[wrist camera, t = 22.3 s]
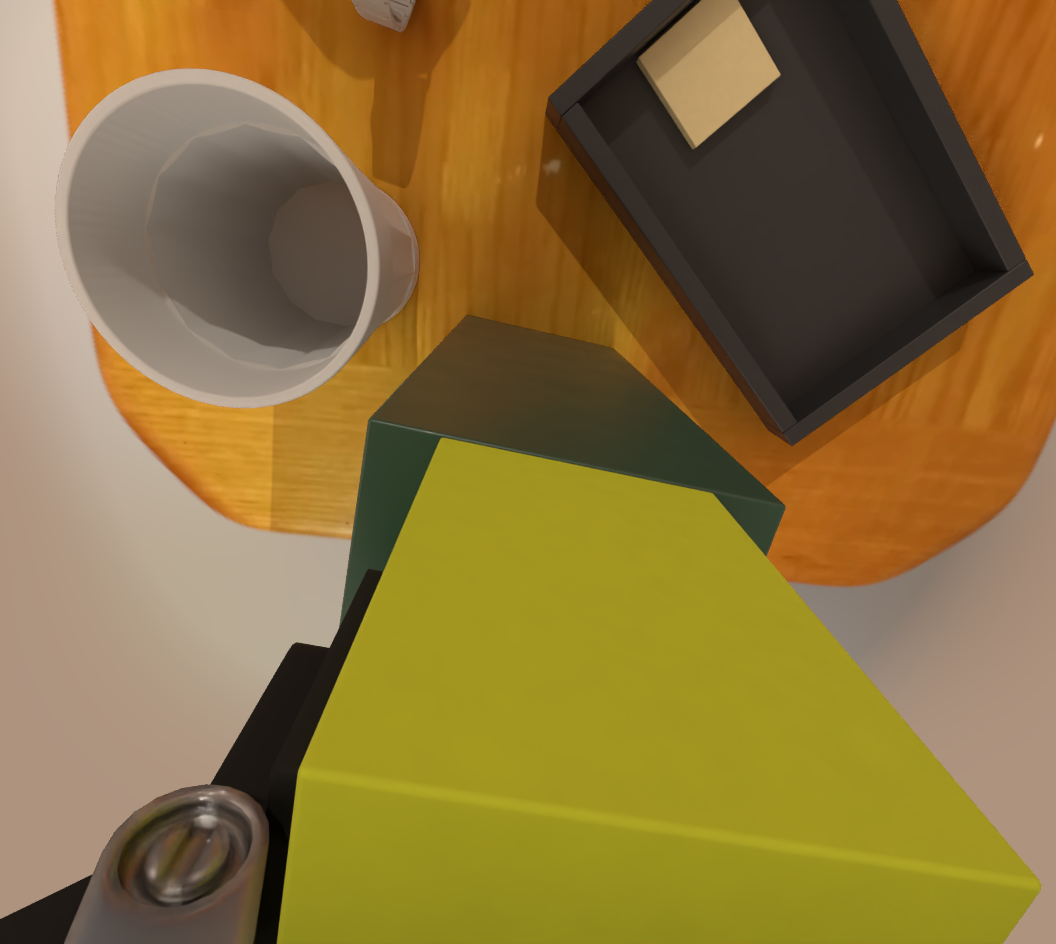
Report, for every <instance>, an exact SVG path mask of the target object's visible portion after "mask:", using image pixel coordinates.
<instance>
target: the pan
mask: <svg viewBox="0 0 1056 944" xmlns="http://www.w3.org/2000/svg"><path fill="white" fill-rule="evenodd" d="M699 1H700V0H652V1H651V2H650V3H649V4H648V5H647V6H646V7H645V8H644V9H642V10H641V11H640V12H639V13H638V14H637V15H636V16H635V17H634V18H633V19H632V20H631V21H630V22H629V23H627V24H626V25H625V26H624V27H623V28H622V29H621V30H620V31H619V32H618V33H617V34H616V35H615V36H614V37H612V38H611V39H610V40H609V41H608V42H607V43H606V44H605V45H604V46H603V47H602V48H601V49H600V50H599V51H597V52H596V53H595V54H594V55H593V56H592V57H591V58H590V59H589V60H588V61H587V62H586V63H585V64H584V65H582V66H581V67H580V68H579V69H578V70H577V71H576V72H575V73H574V74H573V75H572V76H571V77H570V78H569V79H567V80H566V81H565V82H564V83H563V84H562V85H561V86H560V87H559V88H558V89H557V90H556V91H555V92H554V93H552V94H551V95H550V96H549V98H548V103H547V108H546V113H545V114H546V116H547V117H548V119H549V120H550V122H551V123H552V124H553V126H554V127H555V129H556V130H557V131H558V133H559V134H560V136H561V137H562V138H563V140H564V141H565V143H566V144H567V146H568V147H569V148H570V150H571V151H572V153H573V154H574V155H575V157H576V158H577V160H578V161H579V163H580V164H581V165H582V167H583V168H584V170H585V171H586V172H587V174H588V175H589V177H590V178H591V180H592V181H593V182H594V184H595V185H596V187H597V188H598V189H599V191H600V192H601V194H602V195H603V197H604V198H605V199H606V201H607V202H608V204H609V205H610V206H611V208H612V209H613V211H614V212H615V213H616V215H617V216H618V218H619V219H620V221H621V222H622V223H623V225H624V226H625V228H626V229H627V230H628V232H629V233H630V235H631V236H632V238H633V239H634V240H635V242H636V243H637V245H638V246H639V247H640V249H641V250H642V252H643V253H644V255H645V256H646V257H647V259H648V260H649V262H650V263H651V264H652V266H653V267H654V269H655V270H656V271H657V273H658V274H659V276H660V277H661V279H662V280H663V281H664V283H665V284H666V286H667V287H668V288H669V290H670V291H671V293H672V294H673V296H674V297H675V298H676V300H677V301H678V303H679V304H680V305H681V307H682V308H683V310H684V311H685V313H686V314H687V315H688V317H689V318H690V320H691V321H692V322H693V324H694V325H695V327H696V328H697V330H698V331H699V332H700V334H701V335H702V337H703V338H704V339H705V341H706V342H707V344H708V345H709V346H710V348H711V349H712V351H713V352H714V354H715V355H716V356H717V358H718V359H719V361H720V362H721V363H722V365H723V366H724V368H725V369H726V371H727V372H728V373H729V375H730V376H731V378H732V379H733V380H734V382H735V383H736V385H737V386H738V388H739V389H740V390H741V392H742V393H743V395H744V396H745V397H746V399H747V400H748V402H749V403H750V404H751V406H752V407H753V409H754V410H755V412H756V413H757V414H758V416H759V417H760V419H761V420H762V421H763V423H764V424H765V426H766V427H767V429H768V430H769V431H770V432H772V433H773V434H775V435H776V436H778V437H779V438H781V439H782V440H784V441H785V442H787V443H788V444H790V445H791V446H793V445H794V444H796V443H797V442H799V441H800V440H801V439H803V438H804V437H806V436H807V435H809V434H810V433H811V432H813V431H814V430H816V429H817V428H818V427H820V426H821V425H823V424H824V423H825V422H827V421H828V420H830V419H831V418H833V417H834V416H835V415H837V414H838V413H840V412H841V411H842V410H844V409H845V408H847V407H848V406H849V405H851V404H852V403H854V402H855V401H857V400H858V399H859V398H861V397H862V396H864V395H865V394H866V393H868V392H869V391H871V390H872V389H873V388H875V387H876V386H878V385H879V384H880V383H882V382H883V381H885V380H886V379H888V378H889V377H890V376H892V375H893V374H895V373H896V372H897V371H899V370H900V369H902V368H903V367H904V366H906V365H907V364H909V363H910V362H912V361H913V360H914V359H916V358H917V357H919V356H920V355H921V354H923V353H924V352H926V351H927V350H928V349H930V348H931V347H933V346H934V345H936V344H937V343H938V342H940V341H941V340H943V339H944V338H945V337H947V336H948V335H950V334H951V333H952V332H954V331H955V330H957V329H958V328H960V327H961V326H962V325H964V324H965V323H967V322H968V321H969V320H971V319H972V318H974V317H975V316H976V315H978V314H979V313H981V312H982V311H984V310H985V309H986V308H988V307H989V306H991V305H992V304H993V303H995V302H996V301H998V300H999V299H1000V298H1002V297H1003V296H1005V295H1006V294H1008V293H1009V292H1010V291H1012V290H1013V289H1015V288H1016V287H1017V286H1019V285H1020V284H1022V283H1023V282H1024V281H1026V280H1027V279H1029V278H1030V277H1031V276H1033V275H1034V273H1033V271H1032V269H1031V267H1030V265H1029V263H1028V261H1027V260H1026V257H1025V255H1024V253H1023V251H1022V249H1021V247H1020V245H1019V243H1018V241H1017V239H1016V237H1015V235H1014V233H1013V231H1012V229H1011V227H1010V225H1009V223H1008V221H1007V219H1006V217H1005V215H1004V213H1003V211H1002V209H1001V207H1000V205H999V203H998V201H997V199H996V197H995V195H994V193H993V191H992V189H991V187H990V185H989V183H988V181H987V179H986V177H985V175H984V173H983V171H982V169H981V167H980V165H979V163H978V161H977V159H976V157H975V155H974V153H973V151H972V149H971V147H970V145H969V143H968V141H967V139H966V137H965V135H964V133H963V131H962V129H961V127H960V125H959V123H958V121H957V119H956V117H955V115H954V113H953V111H952V109H951V107H950V105H949V103H948V101H947V99H946V97H945V95H944V93H943V91H942V89H941V87H940V85H939V83H938V81H937V79H936V77H935V75H934V73H933V71H932V69H931V67H930V65H929V63H928V61H927V59H926V57H925V55H924V53H923V51H922V49H921V47H920V45H919V43H918V41H917V39H916V37H915V35H914V33H913V31H912V29H911V27H910V25H909V23H908V21H907V19H906V17H905V15H904V13H903V11H902V9H901V7H900V5H899V3H898V1H897V0H738V1H739V3H740V5H741V6H742V8H743V10H744V12H745V13H746V15H747V17H748V19H749V20H750V22H751V24H752V26H753V27H754V29H755V31H756V32H757V34H758V36H759V38H760V39H761V41H762V43H763V45H764V46H765V48H766V50H767V52H768V53H769V55H770V57H771V59H772V60H773V62H774V64H775V65H776V67H777V69H778V71H779V72H780V76H779V77H778V78H777V79H776V80H775V81H773V82H772V83H771V84H770V85H769V86H768V87H766V88H765V89H764V90H763V91H762V92H761V93H759V94H758V95H757V96H756V97H755V98H754V99H752V100H751V101H750V102H749V103H748V104H747V105H745V106H744V107H743V108H742V109H741V110H740V111H738V112H737V113H736V114H735V115H734V116H733V117H731V118H730V119H729V120H728V121H727V122H726V123H724V124H723V125H722V126H721V127H720V128H719V129H717V130H716V131H715V132H714V133H713V134H712V135H710V136H709V137H708V138H707V139H706V140H705V141H703V142H702V143H701V144H700V145H699V146H698V147H696V148H695V149H692V148H691V147H690V145H689V144H688V142H687V141H686V139H685V137H684V136H683V134H682V133H681V131H680V130H679V128H678V127H677V125H676V123H675V122H674V120H673V119H672V117H671V116H670V114H669V113H668V111H667V109H666V108H665V106H664V105H663V103H662V102H661V100H660V99H659V97H658V96H657V94H656V92H655V91H654V89H653V88H652V86H651V85H650V83H649V82H648V80H647V78H646V77H645V75H644V74H643V72H642V71H641V69H640V68H639V66H638V64H637V63H636V61H637V59H638V58H639V56H640V55H641V54H642V53H644V52H645V51H646V50H647V49H648V48H649V47H650V46H651V45H652V44H653V43H654V42H656V41H657V40H658V39H659V38H660V37H661V36H662V35H663V34H664V33H665V32H666V31H668V30H669V29H670V28H671V27H672V26H673V25H674V24H675V23H676V22H677V21H679V20H680V19H681V18H682V17H683V16H684V15H685V14H686V13H687V12H688V11H689V10H691V9H692V8H693V7H694V6H695V5H696V4H697V3H698V2H699Z"/></svg>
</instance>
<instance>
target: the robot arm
mask: <svg viewBox="0 0 1056 944" xmlns="http://www.w3.org/2000/svg"><path fill="white" fill-rule="evenodd" d="M382 574H383V571H379V570H374V569H368V570H367V571H366V573H365V575H364V577H363V580H362V582H361V584H360V586H359V588H358V590H357V592H356V594H355V596H354V598H353V600H352V602H351V605H350V607H349V609H348V611H347V613H346V615H345V617H344V619H343V621H342V623H341V625H340V627H339V630H338V632H337V634H336V636H335V638H334V640H333V642H332V644H331V646H330V648H326V647H321V646H315V645H309V644H303V643H295V644H293V645H292V646H291V648H290V649H289V651H288V652H287V654H286V656H285V658H284V659H283V661H282V662H281V664H280V666H279V668H278V669H277V671H276V673H275V675H274V676H273V678H272V680H271V681H270V683H269V685H268V686H267V688H266V690H265V692H264V693H263V695H262V697H261V698H260V700H259V702H258V704H257V705H256V707H255V709H254V711H253V712H252V714H251V716H250V718H249V719H248V721H247V722H246V724H245V726H244V728H243V729H242V731H241V733H240V735H239V736H238V738H237V740H236V741H235V743H234V745H233V746H232V748H231V750H230V752H229V753H228V755H227V757H226V758H225V760H224V762H223V764H222V765H221V767H220V769H219V771H218V772H217V774H216V776H215V778H214V779H213V781H212V783H211V784H210V785H207V784H206V785H199V786H193V787H187V788H181V789H179V790H176V791H173V792H171V793H168V794H165V795H163V796H160V797H157V798H156V799H154V800H153V801H151V802H150V803H148V804H147V805H145V806H143V807H142V808H140V809H138V810H137V811H135V812H134V813H133V814H132V815H131V816H130V817H129V818H128V819H127V820H126V821H125V822H124V823H123V824H122V825H121V826H120V827H119V828H118V829H117V830H116V831H115V832H114V834H113V835H112V837H111V839H110V840H109V842H108V843H107V845H106V847H105V849H104V850H103V852H102V854H101V856H100V858H99V861H98V863H97V865H96V868H95V870H94V873H93V874H92V875H90V876H88V877H86V878H84V879H82V880H80V881H78V882H76V883H74V884H72V885H70V886H68V887H66V888H64V889H62V890H59V891H58V892H55V893H53V894H51V895H49V896H47V897H45V898H43V899H41V900H39V901H37V902H35V903H33V904H31V905H29V906H27V907H25V908H22V909H20V910H18V911H16V912H14V913H12V914H10V915H8V916H6V917H4V918H2V919H0V944H277V937H278V929H279V921H280V913H281V905H282V897H283V889H284V880H285V872H286V864H287V856H288V848H289V840H290V832H291V824H292V815H293V807H294V799H295V791H296V783H297V775H298V770H299V767H300V765H301V763H302V760H303V758H304V756H305V753H306V751H307V749H308V746H309V744H310V742H311V739H312V737H313V735H314V732H315V730H316V728H317V725H318V723H319V721H320V718H321V716H322V714H323V711H324V709H325V707H326V704H327V702H328V700H329V697H330V695H331V693H332V690H333V688H334V686H335V683H336V681H337V679H338V676H339V674H340V672H341V669H342V667H343V665H344V662H345V660H346V658H347V655H348V653H349V651H350V648H351V646H352V644H353V641H354V639H355V637H356V634H357V632H358V630H359V627H360V625H361V623H362V620H363V618H364V616H365V613H366V611H367V609H368V606H369V604H370V602H371V599H372V597H373V595H374V592H375V590H376V588H377V585H378V583H379V581H380V578H381V576H382Z"/></svg>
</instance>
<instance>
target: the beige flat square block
mask: <svg viewBox="0 0 1056 944" xmlns="http://www.w3.org/2000/svg"><path fill="white" fill-rule="evenodd" d="M636 63H637V64H638V66H639V68H640V69H641V71H642V72H643V74H644V75H645V77H646V78H647V80H648V82H649V83H650V85H651V86H652V88H653V89H654V91H655V92H656V94H657V96H658V97H659V99H660V100H661V102H662V103H663V105H664V106H665V108H666V109H667V111H668V113H669V114H670V116H671V117H672V119H673V120H674V122H675V123H676V125H677V127H678V128H679V130H680V131H681V133H682V134H683V136H684V137H685V139H686V141H687V142H688V144H689V145H690V147H691V148H692V149H695V148H696V147H698V146H699V145H700V144H701V143H702V142H703V141H705V140H706V139H707V138H708V137H709V136H710V135H712V134H713V133H714V132H715V131H716V130H717V129H719V128H720V127H721V126H722V125H723V124H724V123H726V122H727V121H728V120H729V119H730V118H731V117H733V116H734V115H735V114H736V113H737V112H738V111H740V110H741V109H742V108H743V107H744V106H745V105H747V104H748V103H749V102H750V101H751V100H752V99H754V98H755V97H756V96H757V95H758V94H759V93H761V92H762V91H763V90H764V89H765V88H766V87H768V86H769V85H770V84H771V83H772V82H773V81H775V80H776V79H777V78H778V77H779V76H780V72H779V71H778V69H777V67H776V65H775V64H774V62H773V60H772V59H771V57H770V55H769V53H768V52H767V50H766V48H765V46H764V45H763V43H762V41H761V39H760V38H759V36H758V34H757V32H756V31H755V29H754V27H753V26H752V24H751V22H750V20H749V19H748V17H747V15H746V13H745V12H744V10H743V8H742V6H741V5H740V3H739V1H738V0H700V1H699V2H698V3H697V4H696V5H695V6H694V7H693V8H692V9H691V10H689V11H688V12H687V13H686V14H685V15H684V16H683V17H682V18H681V19H680V20H679V21H677V22H676V23H675V24H674V25H673V26H672V27H671V28H670V29H669V30H668V31H666V32H665V33H664V34H663V35H662V36H661V37H660V38H659V39H658V40H657V41H656V42H654V43H653V44H652V45H651V46H650V47H649V48H648V49H647V50H646V51H645V52H644V53H642V54H641V55H640V56H639V58H638V59H637V61H636Z"/></svg>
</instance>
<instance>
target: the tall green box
mask: <svg viewBox="0 0 1056 944" xmlns="http://www.w3.org/2000/svg"><path fill="white" fill-rule="evenodd" d="M441 438H448V439H453V440H458V441H463V442H468V443H473V444H477V445H482V446H487V447H492V448H497V449H502V450H506V451H511V452H516V453H521V454H526V455H531V456H535V457H540V458H545V459H550V460H555V461H560V462H564V463H569V464H574V465H579V466H584V467H589V468H593V469H598V470H603V471H608V472H613V473H618V474H622V475H627V476H632V477H637V478H642V479H647V480H651V481H656V482H661V483H666V484H671V485H676V486H680V487H685V488H690V489H695V490H700V491H705V492H709V493H712V494H714V495H715V497H716V498H717V499H718V500H719V501H720V503H721V504H722V505H723V506H724V507H725V508H726V510H727V511H728V512H729V513H730V514H731V516H732V517H733V518H734V519H735V520H736V522H737V523H738V524H739V525H740V526H741V527H742V529H743V530H744V531H745V532H746V533H747V535H748V536H749V537H750V538H751V539H752V540H753V542H754V543H755V544H756V545H757V546H758V548H759V549H760V550H761V551H762V552H763V554H764V555H765V556H767V554H768V551H769V549H770V546H771V543H772V541H773V538H774V536H775V533H776V531H777V528H778V526H779V523H780V521H781V518H782V516H783V513H784V511H785V505H784V504H783V503H782V502H781V501H780V500H779V499H778V498H777V497H775V496H774V495H773V494H772V493H771V492H770V491H769V490H768V489H767V488H766V487H765V486H763V485H762V484H761V483H760V482H759V481H758V480H757V479H756V478H755V477H754V476H752V475H751V474H750V473H749V472H748V471H747V470H746V469H745V468H744V467H743V466H742V465H740V464H739V463H738V462H737V461H736V460H735V459H734V458H733V457H732V456H731V455H730V454H728V453H727V452H726V451H725V450H724V449H723V448H722V447H721V446H720V445H719V444H718V443H716V442H715V441H714V440H713V439H712V438H711V437H710V436H709V435H708V434H707V433H705V432H704V431H703V430H702V429H701V428H700V427H699V426H698V425H697V424H696V423H695V422H693V421H692V420H691V419H690V418H689V417H688V416H687V415H686V414H685V413H684V412H683V411H681V410H680V409H679V408H678V407H677V406H676V405H675V404H674V403H673V402H672V401H671V400H669V399H668V398H667V397H666V396H665V395H664V394H663V393H662V392H661V391H660V390H658V389H657V388H656V387H655V386H654V385H653V384H652V383H651V382H650V381H649V380H648V379H646V378H645V377H644V376H643V375H642V374H641V373H640V372H639V371H638V370H637V369H636V368H634V367H633V366H632V365H631V364H630V363H629V362H628V361H627V360H626V359H625V358H624V357H622V356H621V355H620V354H619V353H618V352H617V351H616V350H615V349H614V348H610V347H606V346H602V345H597V344H593V343H588V342H584V341H580V340H575V339H571V338H566V337H562V336H558V335H553V334H549V333H545V332H540V331H536V330H531V329H527V328H523V327H518V326H514V325H509V324H505V323H501V322H496V321H492V320H487V319H483V318H479V317H474V316H470V315H466V316H465V317H464V319H463V320H462V321H461V322H460V323H459V324H458V325H457V326H456V327H455V328H454V329H453V330H452V331H451V332H450V333H449V335H448V336H447V337H446V338H445V339H444V340H443V341H442V342H441V343H440V344H439V345H438V346H437V347H436V348H435V349H434V350H433V352H432V353H431V354H430V355H429V356H428V357H427V358H426V359H425V360H424V361H423V362H422V363H421V364H420V365H419V366H418V368H417V369H416V370H415V371H414V372H413V373H412V374H411V375H410V376H409V377H408V378H407V379H406V380H405V381H404V382H403V383H402V385H401V386H400V387H399V388H398V389H397V390H396V391H395V392H394V393H393V394H392V395H391V396H390V397H389V398H388V399H387V400H386V402H385V403H384V404H383V405H382V406H381V407H380V408H379V409H378V410H377V411H376V412H375V413H374V414H373V415H372V416H371V418H370V419H369V420H368V425H367V432H366V440H365V447H364V454H363V461H362V468H361V475H360V483H359V490H358V497H357V504H356V511H355V518H354V526H353V533H352V540H351V547H350V554H349V561H348V569H347V576H346V584H345V590H344V597H343V604H342V612H341V619H340V625H341V623H342V621H343V619H344V617H345V615H346V613H347V611H348V609H349V607H350V605H351V602H352V600H353V598H354V596H355V594H356V592H357V590H358V588H359V586H360V584H361V582H362V580H363V577H364V575H365V573H366V571H367V570H368V569H374V570H379V571H384V569H385V567H386V564H387V562H388V560H389V557H390V555H391V553H392V550H393V548H394V546H395V543H396V541H397V539H398V536H399V534H400V532H401V529H402V527H403V525H404V522H405V520H406V518H407V515H408V513H409V511H410V508H411V506H412V504H413V501H414V499H415V497H416V494H417V492H418V490H419V487H420V485H421V483H422V480H423V478H424V476H425V473H426V471H427V469H428V466H429V464H430V462H431V459H432V457H433V455H434V452H435V450H436V448H437V445H438V443H439V441H440V439H441ZM339 627H340V626H339Z"/></svg>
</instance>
